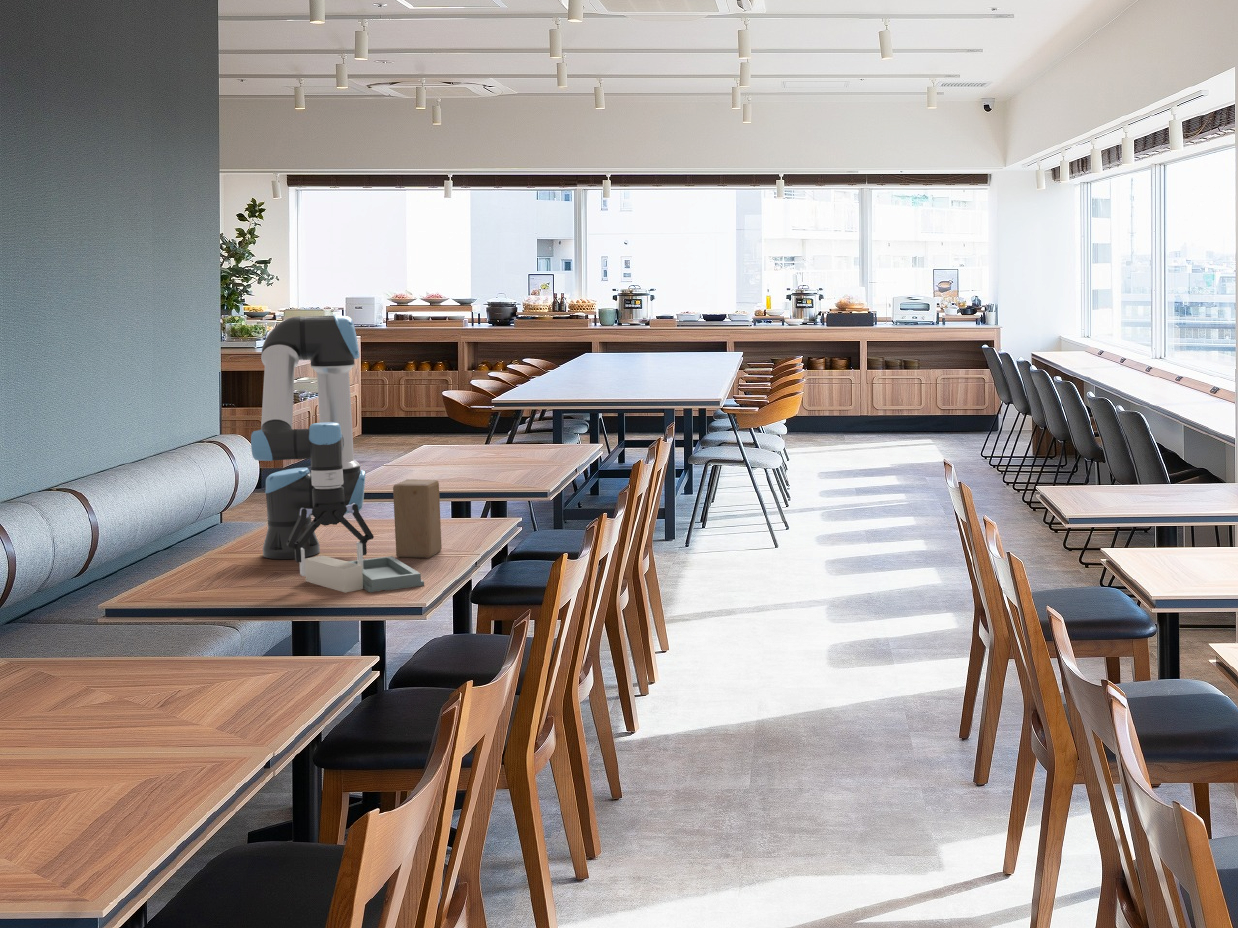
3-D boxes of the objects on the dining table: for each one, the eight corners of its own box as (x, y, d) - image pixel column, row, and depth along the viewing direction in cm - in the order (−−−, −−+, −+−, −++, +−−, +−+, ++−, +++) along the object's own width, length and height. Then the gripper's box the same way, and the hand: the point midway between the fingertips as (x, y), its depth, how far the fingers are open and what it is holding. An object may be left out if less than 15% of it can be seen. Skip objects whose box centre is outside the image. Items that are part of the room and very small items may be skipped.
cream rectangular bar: (305, 582, 308) (304, 558, 308) (323, 578, 312) (322, 555, 311) (345, 593, 296) (343, 568, 295) (363, 589, 299) (361, 565, 298)
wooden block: (430, 558, 332) (427, 484, 329) (394, 558, 334) (391, 484, 331) (443, 551, 341) (439, 479, 339) (408, 550, 343) (405, 478, 341)
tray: (343, 573, 316) (343, 561, 316) (395, 567, 322) (394, 555, 322) (369, 592, 295) (368, 580, 295) (424, 585, 301) (423, 573, 301)
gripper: (277, 492, 292) (282, 580, 294) (383, 484, 303) (387, 568, 306) (271, 489, 298) (276, 575, 301) (374, 480, 310) (378, 563, 312)
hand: (332, 573), depth 303 cm, fingers open, 13 cm apart
